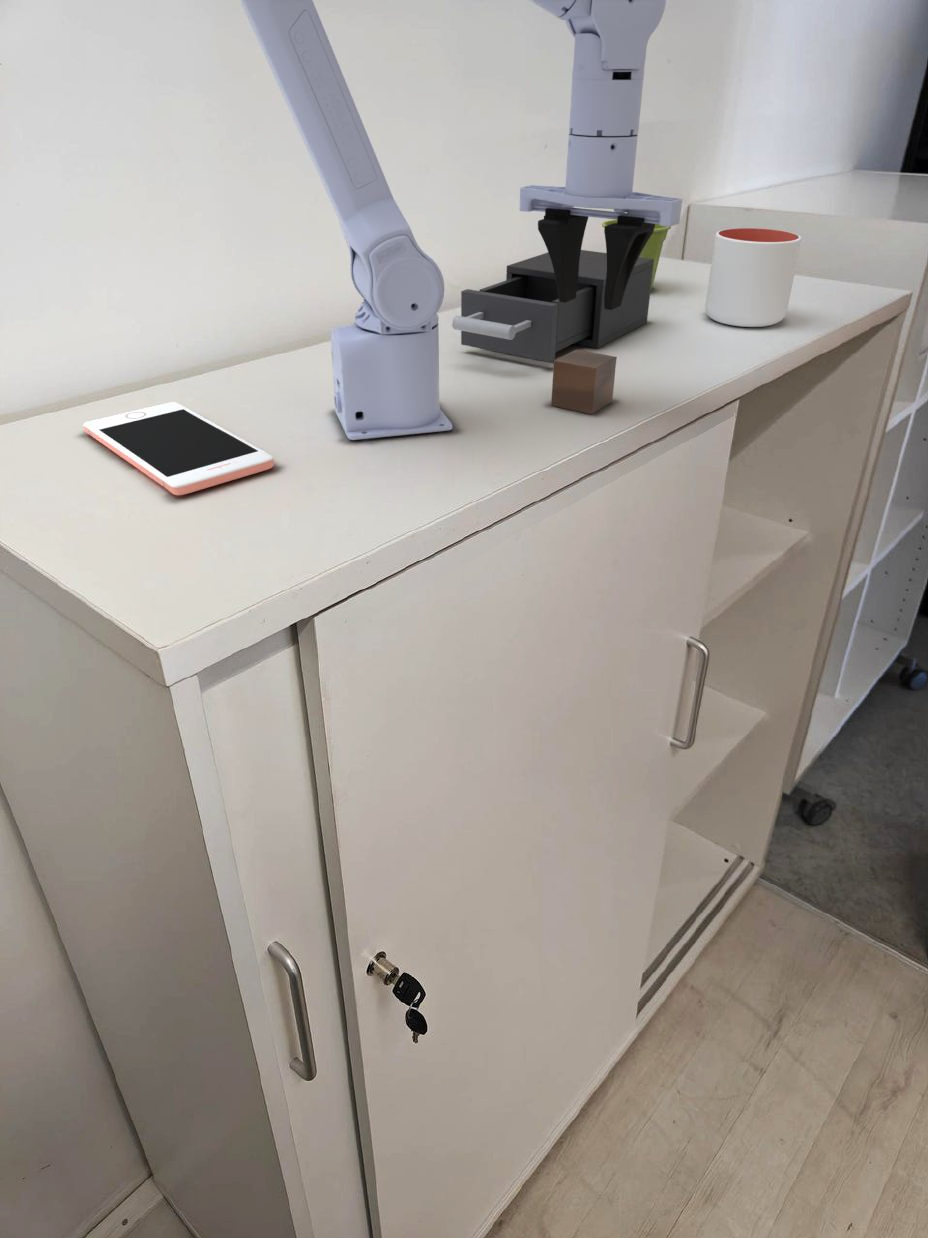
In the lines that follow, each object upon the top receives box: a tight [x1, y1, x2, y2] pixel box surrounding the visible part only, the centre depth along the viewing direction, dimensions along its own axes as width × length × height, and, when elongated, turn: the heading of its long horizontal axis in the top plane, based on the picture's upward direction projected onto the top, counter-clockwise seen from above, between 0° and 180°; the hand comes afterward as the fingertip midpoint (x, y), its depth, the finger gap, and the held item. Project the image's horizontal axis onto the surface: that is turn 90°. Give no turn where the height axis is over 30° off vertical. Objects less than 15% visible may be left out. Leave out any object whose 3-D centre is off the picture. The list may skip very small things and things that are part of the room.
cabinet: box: [505, 249, 654, 350], centre depth 107 cm, size 14×13×8 cm
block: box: [550, 349, 617, 415], centre depth 85 cm, size 4×4×4 cm
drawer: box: [452, 275, 597, 363], centre depth 98 cm, size 17×11×6 cm, turn 146°
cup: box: [704, 227, 802, 328], centre depth 110 cm, size 10×10×10 cm
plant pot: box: [601, 219, 672, 290], centre depth 124 cm, size 9×9×9 cm
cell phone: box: [83, 401, 275, 496], centre depth 75 cm, size 9×18×1 cm, turn 41°
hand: (589, 303), depth 81 cm, fingers open, 4 cm apart
